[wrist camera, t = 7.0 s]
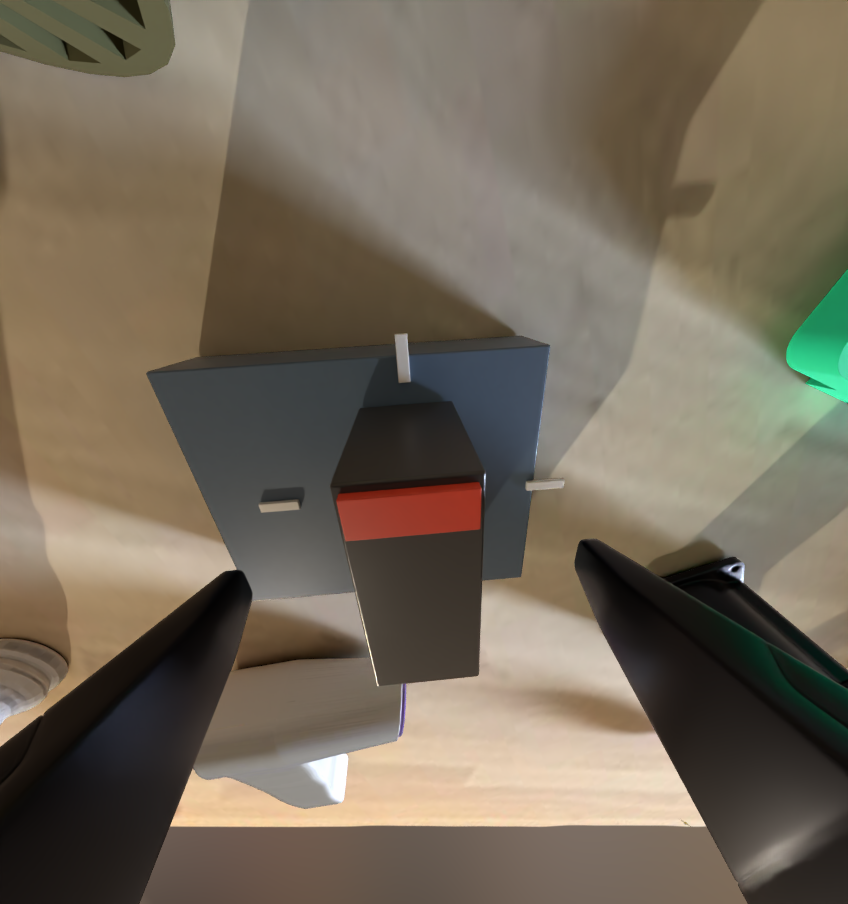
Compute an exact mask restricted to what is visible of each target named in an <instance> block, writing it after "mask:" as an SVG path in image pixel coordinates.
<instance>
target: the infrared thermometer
mask: <svg viewBox="0 0 848 904" xmlns="http://www.w3.org/2000/svg"><path fill="white" fill-rule="evenodd" d="M405 709H406V684H396V685H386V686H377V683H376V679H375V674H374V670H373V666H372V662H371V658H341V659H303V660H294V661H288V662H282V663H276V664H270V665H264V666H258V667H252V668H246V669H240V670H234V671H231V672H230V674H229V677H228V679H227V682H226V684H225V687H224V690H223V692H222V695H221V697H220V700H219V702H218V705H217V707H216V710H215V712H214V715H213V718H212V720H211V723H210V725H209V728H208V730H207V733H206V735H205V738H204V740H203V743H202V746H201V748H200V751H199V753H198V756H197V758H196V761H195V763H194V766H193V769H194V770H195V772H196V773H197V775H198V776H199V777H201V778H203V779H207V780H211V779H217V778H222V777H228V778H232V779H235V780H237V781H240V782H242V783H245V784H247V785H250V786H252V787H254V788H257V789H259V790H261V791H264V792H266V793H267V794H269V795H271V796H273V797H275V798H276V799H278V800H280V801H282V802H284V803H287V804H289V805H292V806H295V807H299V808H304V809H307V808H314V807H320V806H327V805H333V804H338V803H341V802H342V801H343V799H344V793H345V784H346V774H347V764H348V756H347V754H345V753H349V752H353V751H357V750H361V749H365V748H369V747H374V746H378V745H382V744H386V743H390V742H394V741H397V740H398V737H400V736H401V735H402V733H403V728H404V721H405Z"/></svg>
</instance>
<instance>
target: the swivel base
mask: <svg viewBox="0 0 848 904" xmlns="http://www.w3.org/2000/svg"><path fill="white" fill-rule="evenodd" d="M394 337H395V344H390V345H375V346H360V347H345V348H330V349H315V350H299V351H284V352H269V353H254V354H239V355H224V356H209V357H196V358H193V359H189V360H186V361H183V362H179V363H176V364H172V365H169V366H166V367H162V368H159V369H155V370H152V371H149V372H147V373H146V374H147V376H148V379H149V381H150V383H151V385H152V387H153V389H154V391H155V394H156V396H157V398H158V400H159V402H160V404H161V407H162V409H163V411H164V413H165V415H166V417H167V420H168V422H169V424H170V426H171V428H172V430H173V432H174V435H175V437H176V439H177V441H178V443H179V445H180V448H181V450H182V452H183V454H184V456H185V458H186V461H187V463H188V465H189V467H190V469H191V471H192V474H193V476H194V478H195V480H196V482H197V484H198V486H199V489H200V491H201V493H202V495H203V497H204V499H205V502H206V504H207V506H208V508H209V510H210V512H211V515H212V517H213V519H214V521H215V523H216V525H217V527H218V530H219V532H220V534H221V536H222V538H223V540H224V543H225V545H226V547H227V549H228V551H229V553H230V556H231V558H232V560H233V562H234V564H235V566H236V568H237V570H241V571H243V572H244V574H245V576H246V578H247V580H248V582H249V585H250V587H251V589H252V593H253V598H252V601H262V600H273V599H284V598H295V597H306V596H317V595H329V594H340V593H351V592H355V591H354V586H353V582H352V578H351V574H350V570H349V565H348V561H347V557H346V553H345V549H344V544H343V540H342V536H341V532H340V528H339V524H338V519H337V515H336V511H335V507H334V503H333V498H332V494H331V490H330V483H331V480H332V478H333V475H334V473H335V470H336V468H337V465H338V462H339V460H340V457H341V455H342V452H343V449H344V447H345V444H346V442H347V439H348V437H349V434H350V431H351V429H352V426H353V424H354V421H355V418H356V416H357V413H358V411H359V409H360V408H368V407H381V406H394V405H407V404H419V403H432V402H445V401H452V402H453V404H454V406H455V408H456V410H457V412H458V415H459V417H460V419H461V421H462V423H463V425H464V427H465V429H466V431H467V434H468V436H469V438H470V440H471V442H472V444H473V446H474V448H475V450H476V453H477V455H478V457H479V459H480V461H481V463H482V465H483V467H484V469H485V472H486V490H485V517H484V545H483V572H482V581H483V580H494V579H505V578H516V577H521V574H522V566H523V558H524V550H525V542H526V534H527V526H528V518H529V510H530V502H531V494H532V490H544V489H556V488H563V487H564V481H565V480H564V479H563V478H556V479H543V480H533V478H534V470H535V462H536V454H537V447H538V439H539V431H540V423H541V415H542V407H543V399H544V391H545V383H546V375H547V367H548V359H549V351H550V345H548V344H545V343H542V342H539V341H536V340H533V339H530V338H527V337H524V336H510V337H495V338H480V339H465V340H450V341H435V342H420V343H408V342H407V333H400V334H394Z"/></svg>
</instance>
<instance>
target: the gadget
mask: <svg viewBox="0 0 848 904" xmlns="http://www.w3.org/2000/svg"><path fill="white" fill-rule="evenodd" d="M330 490H331V494H332V498H333V503H334V507H335V511H336V515H337V519H338V524H339V528H340V532H341V536H342V540H343V544H344V549H345V553H346V557H347V561H348V565H349V570H350V574H351V578H352V582H353V586H354V591H355V595H356V599H357V603H358V607H359V611H360V616H361V620H362V624H363V628H364V632H365V637H366V641H367V645H368V649H369V653H370V658H371V662H372V666H373V670H374V674H375V679H376V683H377V686H386V685H396V684H406V683H415V682H425V681H435V680H444V679H454V678H464V677H474V676H478V675H479V654H480V627H481V599H482V572H483V545H484V517H485V490H486V472H485V469H484V467H483V465H482V463H481V461H480V459H479V457H478V455H477V453H476V450H475V448H474V446H473V444H472V442H471V440H470V438H469V436H468V434H467V431H466V429H465V427H464V425H463V423H462V421H461V419H460V417H459V415H458V412H457V410H456V408H455V406H454V404H453V402H452V401H445V402H432V403H419V404H407V405H394V406H381V407H368V408H360V409H359V411H358V413H357V416H356V418H355V421H354V424H353V426H352V429H351V431H350V434H349V437H348V439H347V442H346V444H345V447H344V449H343V452H342V455H341V457H340V460H339V462H338V465H337V468H336V470H335V473H334V475H333V478H332V480H331V483H330Z"/></svg>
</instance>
